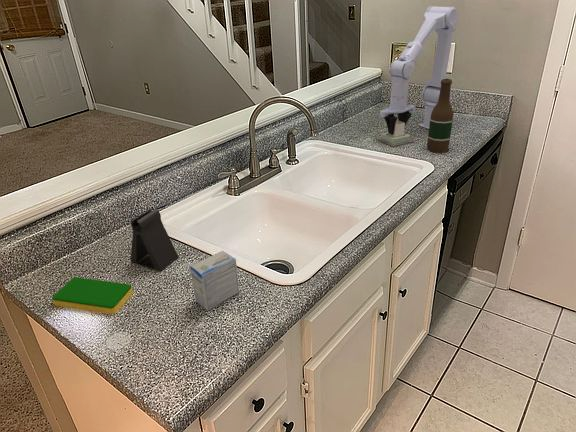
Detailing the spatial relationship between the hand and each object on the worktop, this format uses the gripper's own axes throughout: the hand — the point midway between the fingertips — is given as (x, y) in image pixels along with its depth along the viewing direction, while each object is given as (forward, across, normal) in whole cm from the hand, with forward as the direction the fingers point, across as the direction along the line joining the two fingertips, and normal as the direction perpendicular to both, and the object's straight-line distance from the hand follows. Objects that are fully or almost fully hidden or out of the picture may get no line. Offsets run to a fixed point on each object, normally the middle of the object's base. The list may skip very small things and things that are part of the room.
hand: (395, 132), depth 165 cm
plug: (+2, 0, 0) cm, 2 cm away
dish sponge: (+4, +111, +41) cm, 118 cm away
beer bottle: (+3, -6, +15) cm, 17 cm away
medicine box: (+3, +89, +53) cm, 104 cm away
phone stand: (+3, +97, +33) cm, 103 cm away
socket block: (+3, 0, 0) cm, 3 cm away
